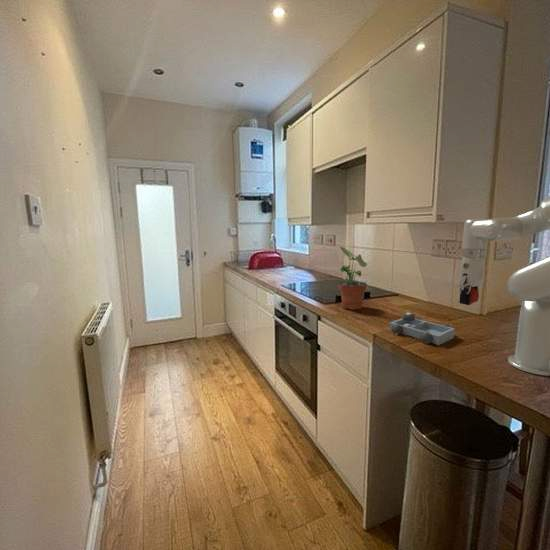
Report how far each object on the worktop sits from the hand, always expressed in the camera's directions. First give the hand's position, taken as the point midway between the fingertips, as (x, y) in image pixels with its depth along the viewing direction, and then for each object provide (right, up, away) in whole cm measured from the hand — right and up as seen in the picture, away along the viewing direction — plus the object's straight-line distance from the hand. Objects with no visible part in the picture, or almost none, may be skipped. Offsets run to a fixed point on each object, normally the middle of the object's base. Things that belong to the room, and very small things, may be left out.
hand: (468, 302), depth 112 cm
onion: (0, -1, 0) cm, 1 cm away
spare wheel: (-15, -8, +15) cm, 23 cm away
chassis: (-12, -14, +12) cm, 22 cm away
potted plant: (-30, -8, +50) cm, 59 cm away
